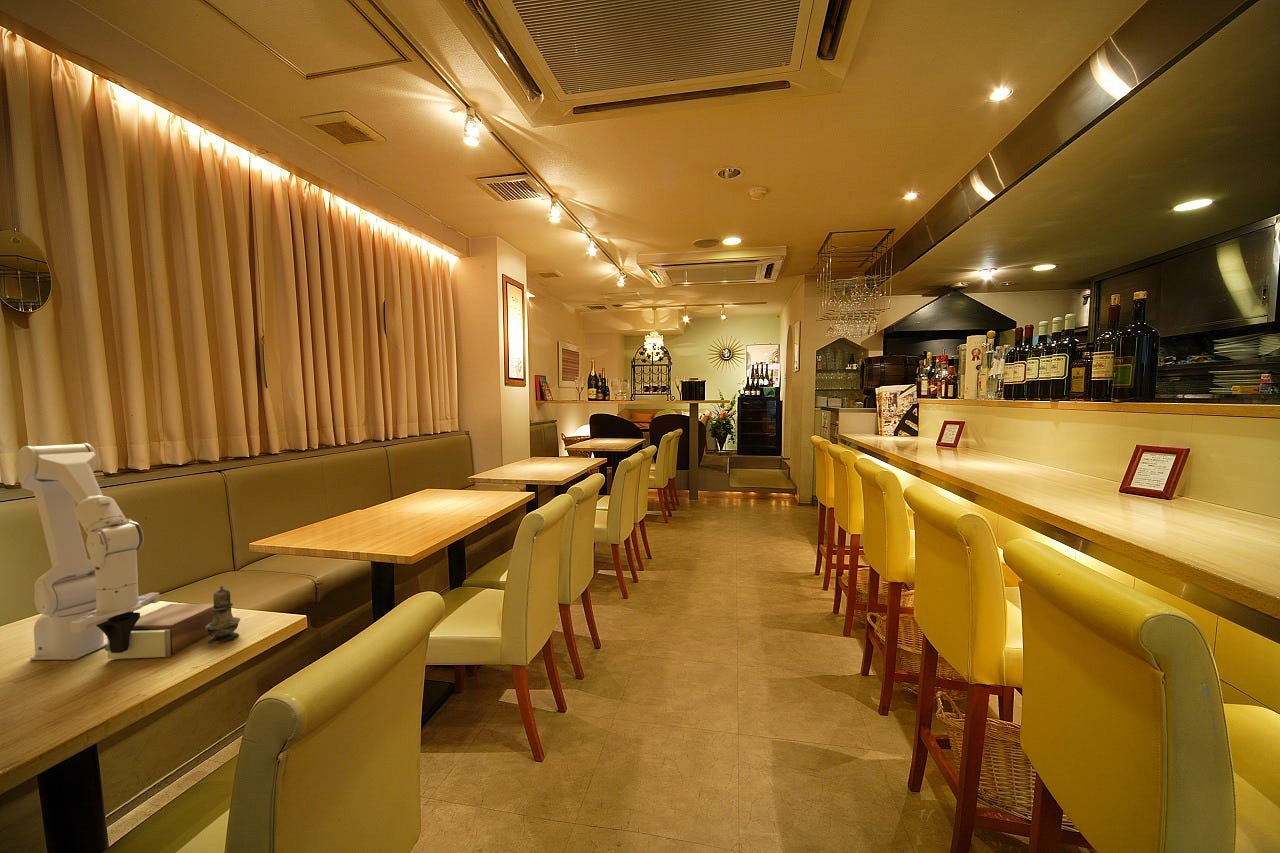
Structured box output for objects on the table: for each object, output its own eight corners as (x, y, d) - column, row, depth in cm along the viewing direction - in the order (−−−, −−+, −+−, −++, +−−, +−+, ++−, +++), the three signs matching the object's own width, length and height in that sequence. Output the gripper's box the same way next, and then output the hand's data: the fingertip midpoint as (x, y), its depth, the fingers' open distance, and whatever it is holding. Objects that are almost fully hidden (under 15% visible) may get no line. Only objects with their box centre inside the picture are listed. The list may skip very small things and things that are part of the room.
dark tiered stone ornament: (220, 646, 102) (217, 591, 102) (198, 644, 103) (196, 589, 103) (247, 634, 108) (245, 582, 108) (227, 631, 109) (225, 580, 109)
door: (104, 662, 96) (102, 635, 96) (113, 657, 98) (112, 631, 97) (164, 660, 97) (163, 633, 96) (172, 655, 98) (171, 629, 98)
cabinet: (119, 655, 99) (118, 625, 99) (172, 630, 110) (170, 603, 110) (172, 655, 99) (171, 625, 99) (219, 630, 110) (218, 603, 110)
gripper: (95, 599, 88) (98, 671, 88) (172, 572, 102) (174, 634, 103) (57, 599, 88) (60, 671, 88) (140, 572, 102) (142, 634, 103)
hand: (119, 651), depth 96 cm, fingers closed
